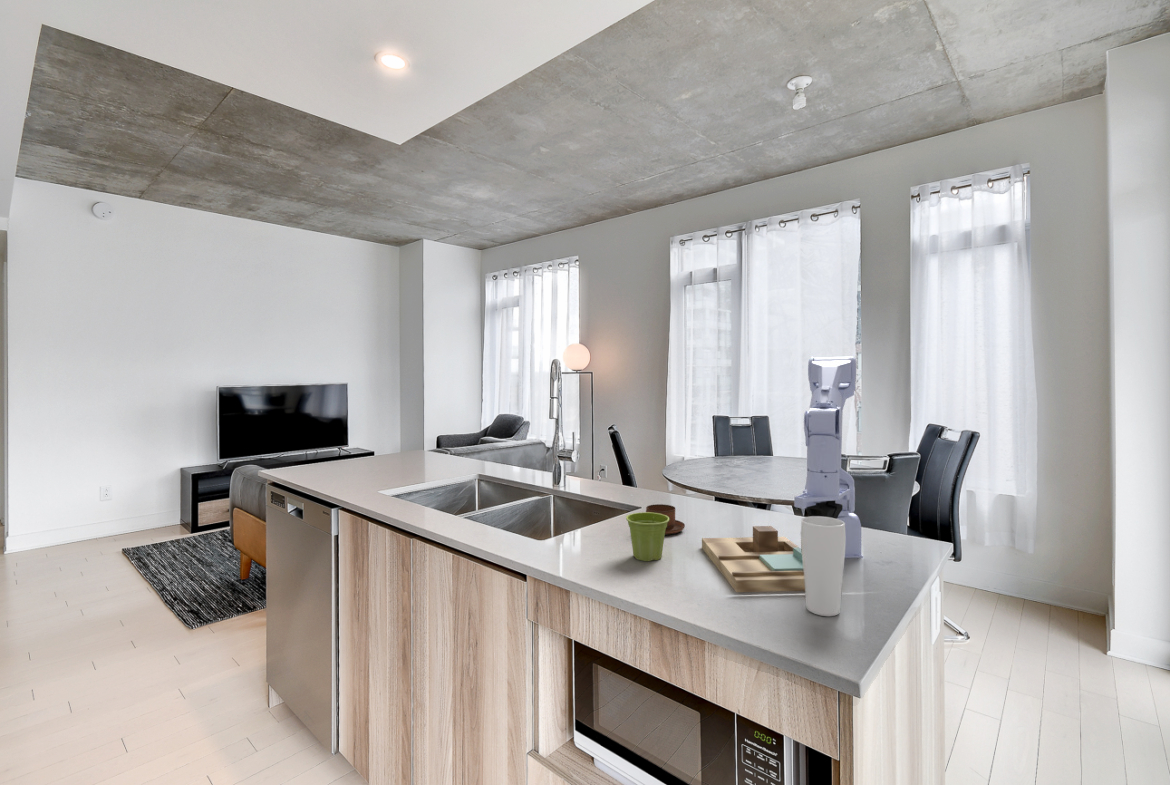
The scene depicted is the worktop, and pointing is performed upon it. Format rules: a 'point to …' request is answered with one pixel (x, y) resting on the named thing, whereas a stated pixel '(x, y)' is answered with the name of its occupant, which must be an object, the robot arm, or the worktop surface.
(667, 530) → the cup and saucer
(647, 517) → the plant pot
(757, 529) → the block
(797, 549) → the lid
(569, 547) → the worktop surface
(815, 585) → the drinking glass
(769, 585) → the board
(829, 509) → the robot arm
